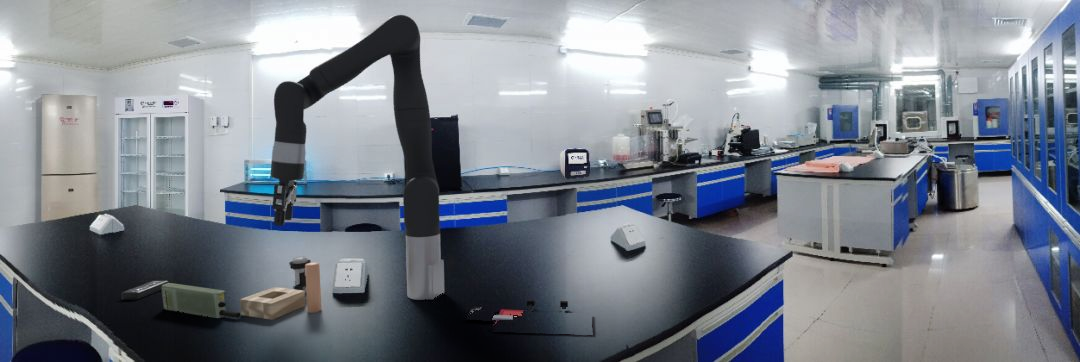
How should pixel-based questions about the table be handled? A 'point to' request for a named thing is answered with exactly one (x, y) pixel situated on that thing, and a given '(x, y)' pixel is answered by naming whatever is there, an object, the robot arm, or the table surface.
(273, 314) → the socket block
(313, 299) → the peg
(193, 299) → the handheld radio
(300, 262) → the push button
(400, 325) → the table surface
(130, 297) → the multiport hub
